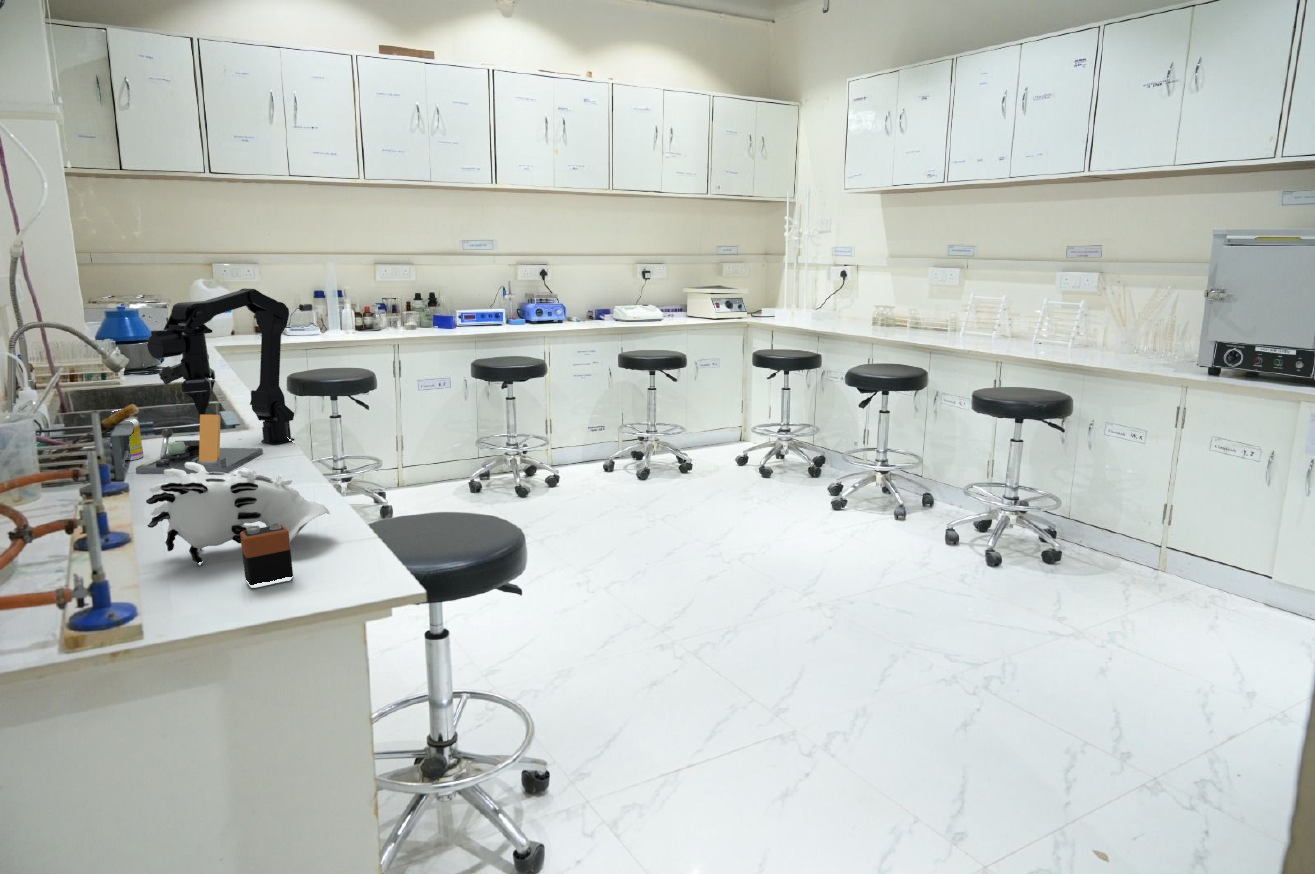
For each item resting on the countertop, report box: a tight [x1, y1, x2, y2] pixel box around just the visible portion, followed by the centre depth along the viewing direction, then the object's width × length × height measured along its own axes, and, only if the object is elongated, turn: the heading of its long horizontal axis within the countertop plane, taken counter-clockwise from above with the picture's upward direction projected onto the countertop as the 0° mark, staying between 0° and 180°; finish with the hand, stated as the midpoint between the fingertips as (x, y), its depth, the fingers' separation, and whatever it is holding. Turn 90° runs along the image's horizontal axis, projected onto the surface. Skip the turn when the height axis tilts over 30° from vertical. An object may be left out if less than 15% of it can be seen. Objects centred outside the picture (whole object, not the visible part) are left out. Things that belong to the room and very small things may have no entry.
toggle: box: [159, 427, 174, 459], centre depth 209 cm, size 2×2×8 cm
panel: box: [135, 445, 264, 475], centre depth 215 cm, size 21×22×4 cm
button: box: [167, 440, 185, 454], centre depth 214 cm, size 4×4×2 cm
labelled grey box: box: [174, 439, 200, 446], centre depth 220 cm, size 7×4×1 cm, turn 0°
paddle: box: [197, 414, 221, 467], centre depth 206 cm, size 2×5×13 cm, turn 90°
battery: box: [240, 523, 294, 585], centre depth 140 cm, size 4×7×10 cm, turn 126°
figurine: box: [145, 462, 330, 564], centre depth 153 cm, size 17×16×30 cm
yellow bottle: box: [111, 408, 144, 461], centre depth 218 cm, size 7×7×13 cm
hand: (203, 412), depth 216 cm, fingers open, 9 cm apart
